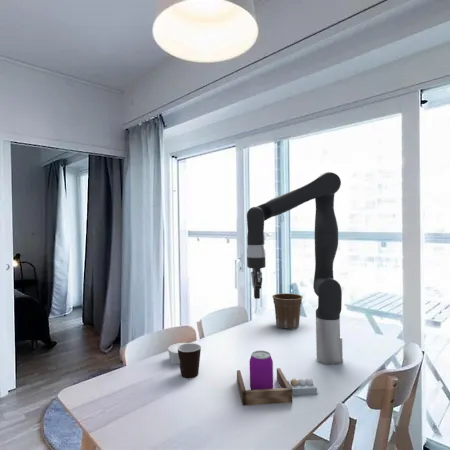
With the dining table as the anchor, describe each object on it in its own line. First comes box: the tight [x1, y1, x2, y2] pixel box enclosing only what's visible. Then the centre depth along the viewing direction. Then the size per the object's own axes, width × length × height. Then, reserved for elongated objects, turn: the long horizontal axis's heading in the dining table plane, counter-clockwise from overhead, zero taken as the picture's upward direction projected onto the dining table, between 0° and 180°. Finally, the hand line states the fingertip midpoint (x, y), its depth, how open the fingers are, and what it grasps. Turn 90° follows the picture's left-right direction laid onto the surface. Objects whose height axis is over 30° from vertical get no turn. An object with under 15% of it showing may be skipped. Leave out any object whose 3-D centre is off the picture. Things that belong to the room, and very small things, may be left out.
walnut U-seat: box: [236, 367, 293, 406], centre depth 107 cm, size 15×15×4 cm
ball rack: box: [286, 377, 318, 396], centre depth 107 cm, size 8×6×4 cm
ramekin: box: [167, 342, 188, 366], centre depth 133 cm, size 11×11×5 cm
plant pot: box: [271, 292, 303, 330], centre depth 176 cm, size 16×16×16 cm
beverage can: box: [249, 350, 274, 390], centre depth 108 cm, size 8×8×12 cm
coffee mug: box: [178, 342, 202, 380], centre depth 121 cm, size 12×9×10 cm
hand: (256, 298), depth 133 cm, fingers closed
